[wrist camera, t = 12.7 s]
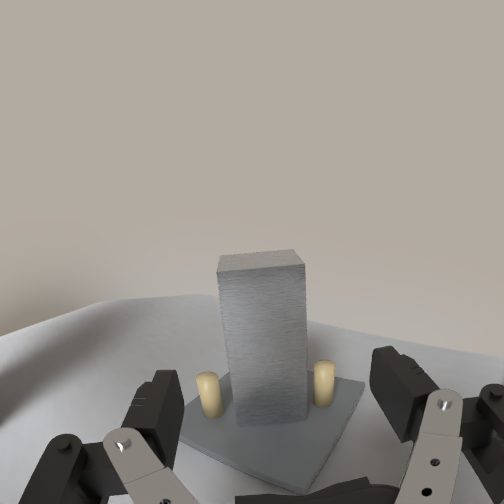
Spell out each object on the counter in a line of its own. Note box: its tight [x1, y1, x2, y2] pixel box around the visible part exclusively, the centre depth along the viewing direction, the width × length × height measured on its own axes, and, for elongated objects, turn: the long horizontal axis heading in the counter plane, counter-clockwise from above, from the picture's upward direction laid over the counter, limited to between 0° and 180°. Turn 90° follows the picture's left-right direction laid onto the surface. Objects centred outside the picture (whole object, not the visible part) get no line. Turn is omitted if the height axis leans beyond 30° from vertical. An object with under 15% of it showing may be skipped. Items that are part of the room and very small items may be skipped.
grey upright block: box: [217, 249, 307, 428], centre depth 21 cm, size 5×4×12 cm
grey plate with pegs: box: [179, 360, 365, 495], centre depth 22 cm, size 12×12×4 cm
